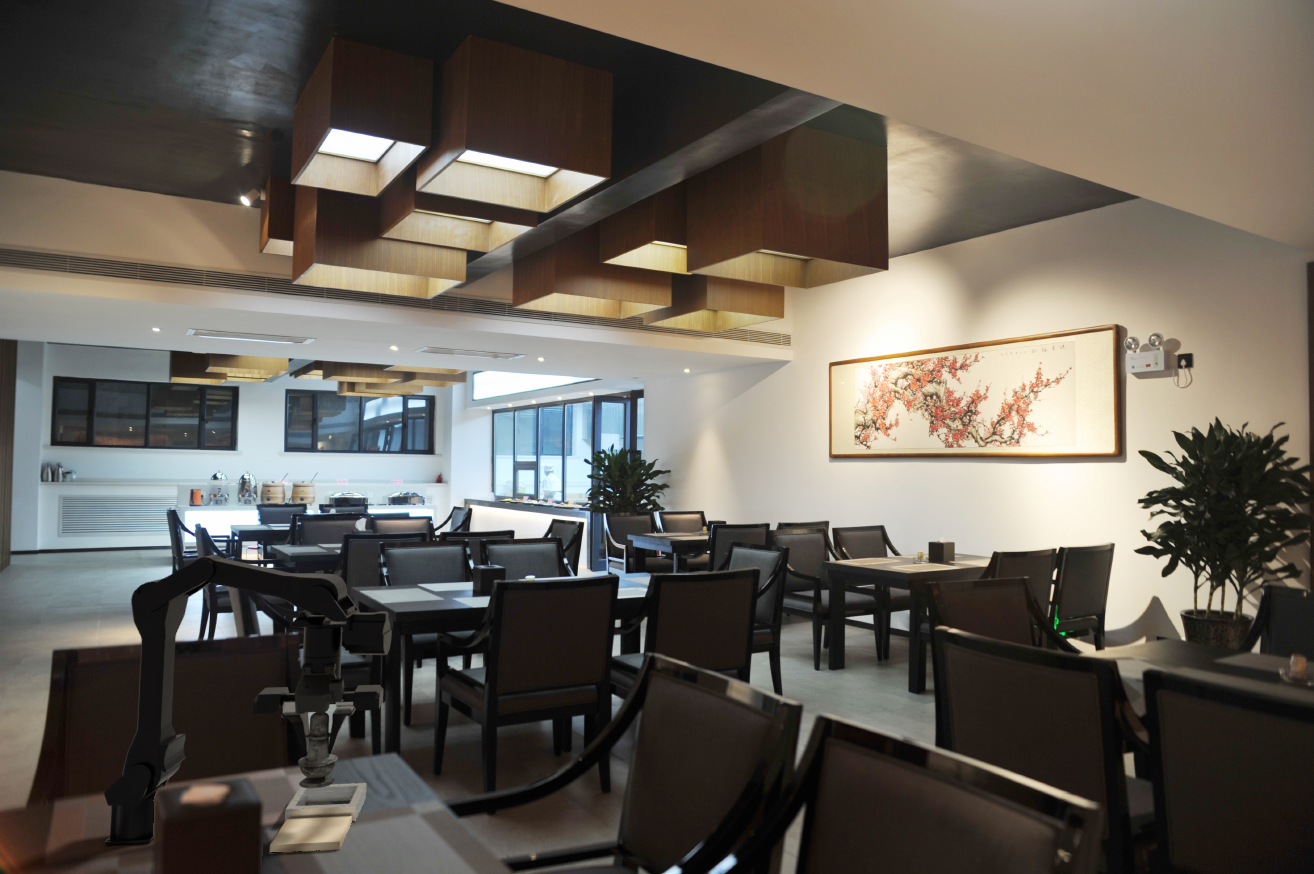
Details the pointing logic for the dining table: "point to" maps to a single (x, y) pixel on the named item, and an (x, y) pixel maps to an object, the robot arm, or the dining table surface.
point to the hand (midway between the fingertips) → (318, 753)
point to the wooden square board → (311, 834)
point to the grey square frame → (324, 794)
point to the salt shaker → (318, 754)
